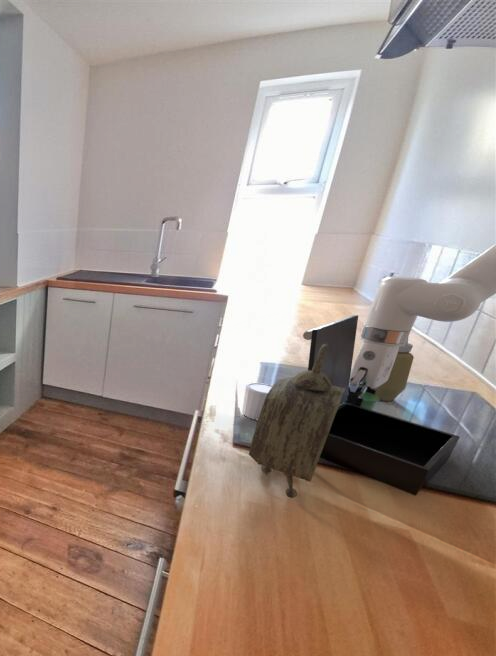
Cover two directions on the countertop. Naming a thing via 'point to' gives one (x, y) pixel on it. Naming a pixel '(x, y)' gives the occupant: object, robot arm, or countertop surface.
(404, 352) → the squeeze bottle
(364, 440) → the black rectangular tray
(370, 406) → the pot
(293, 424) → the tan textured upright piece
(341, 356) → the lid
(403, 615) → the countertop surface
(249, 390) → the white short cylinder
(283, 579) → the countertop surface
